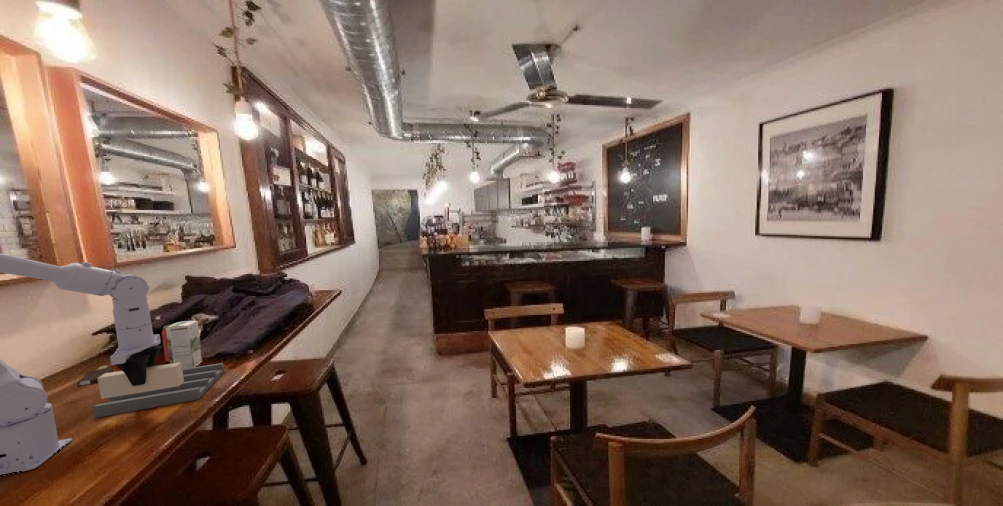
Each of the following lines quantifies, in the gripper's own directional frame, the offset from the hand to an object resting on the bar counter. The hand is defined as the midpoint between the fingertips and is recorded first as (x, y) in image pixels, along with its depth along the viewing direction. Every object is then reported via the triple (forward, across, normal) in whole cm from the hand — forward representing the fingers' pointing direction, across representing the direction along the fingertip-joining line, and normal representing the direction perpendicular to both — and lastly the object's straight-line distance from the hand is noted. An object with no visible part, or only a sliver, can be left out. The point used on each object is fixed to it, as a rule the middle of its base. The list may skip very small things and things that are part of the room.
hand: (143, 381), depth 83 cm
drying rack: (+8, +13, +2) cm, 16 cm away
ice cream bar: (+9, +36, +28) cm, 47 cm away
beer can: (+9, +40, +10) cm, 42 cm away
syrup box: (+9, +30, +4) cm, 32 cm away
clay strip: (+2, 0, 0) cm, 2 cm away
